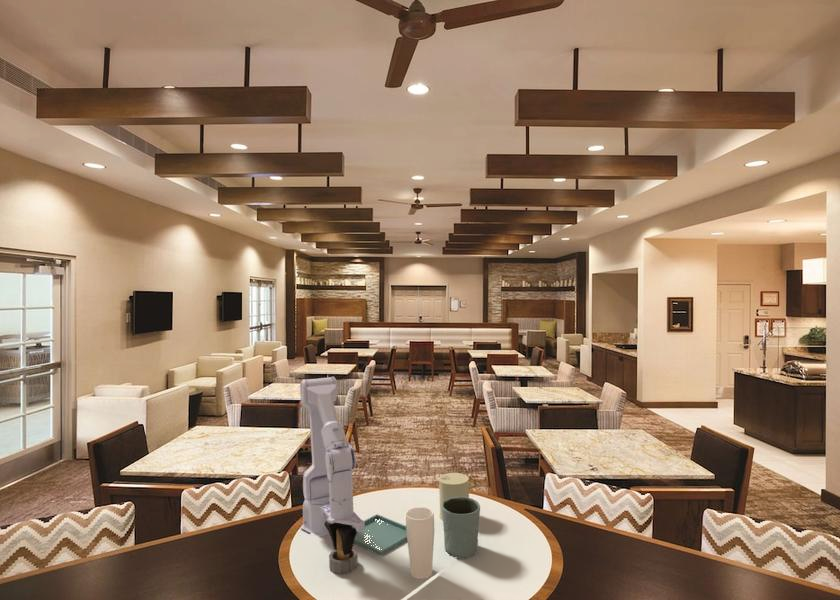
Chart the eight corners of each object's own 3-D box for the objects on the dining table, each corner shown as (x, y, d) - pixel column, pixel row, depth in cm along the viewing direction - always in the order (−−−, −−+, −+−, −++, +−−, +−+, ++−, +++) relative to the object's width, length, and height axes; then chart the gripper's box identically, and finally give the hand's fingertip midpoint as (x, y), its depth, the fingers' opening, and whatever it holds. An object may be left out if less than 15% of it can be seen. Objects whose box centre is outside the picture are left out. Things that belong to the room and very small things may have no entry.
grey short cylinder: (324, 569, 121) (323, 555, 121) (345, 557, 126) (344, 544, 126) (341, 579, 116) (341, 565, 116) (363, 566, 122) (362, 553, 121)
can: (441, 508, 152) (439, 470, 152) (470, 509, 151) (469, 471, 151) (438, 522, 143) (436, 482, 143) (469, 524, 142) (468, 483, 142)
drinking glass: (433, 584, 114) (431, 520, 113) (404, 581, 115) (402, 518, 115) (437, 568, 120) (436, 507, 120) (410, 565, 122) (409, 506, 121)
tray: (340, 538, 136) (340, 532, 136) (377, 519, 146) (377, 514, 146) (380, 557, 125) (380, 551, 125) (417, 536, 136) (416, 530, 136)
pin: (334, 566, 121) (333, 530, 121) (344, 561, 123) (343, 525, 123) (342, 570, 119) (341, 534, 119) (352, 565, 121) (351, 529, 121)
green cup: (453, 536, 135) (452, 493, 135) (487, 545, 130) (486, 501, 130) (435, 554, 126) (434, 508, 126) (471, 564, 121) (470, 517, 121)
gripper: (310, 494, 123) (312, 547, 123) (348, 510, 113) (349, 568, 113) (332, 485, 128) (334, 536, 128) (370, 499, 118) (372, 555, 119)
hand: (343, 550), depth 121 cm, fingers closed on pin, 3 cm apart
